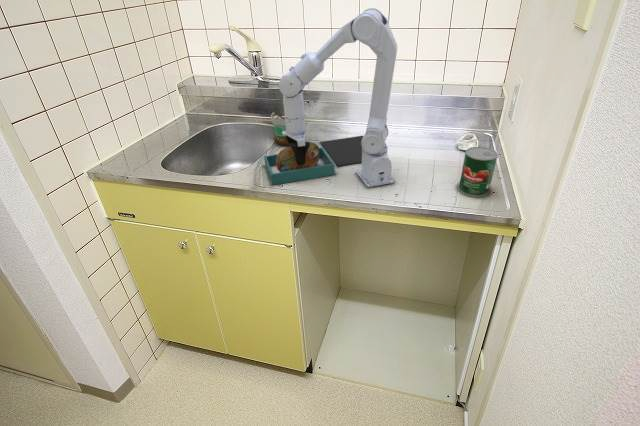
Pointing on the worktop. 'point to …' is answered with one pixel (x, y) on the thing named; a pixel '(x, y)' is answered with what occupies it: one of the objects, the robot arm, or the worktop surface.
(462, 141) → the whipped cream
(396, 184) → the worktop surface
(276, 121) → the food container
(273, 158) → the crate
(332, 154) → the mat
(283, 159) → the tin
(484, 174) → the canned tomato
